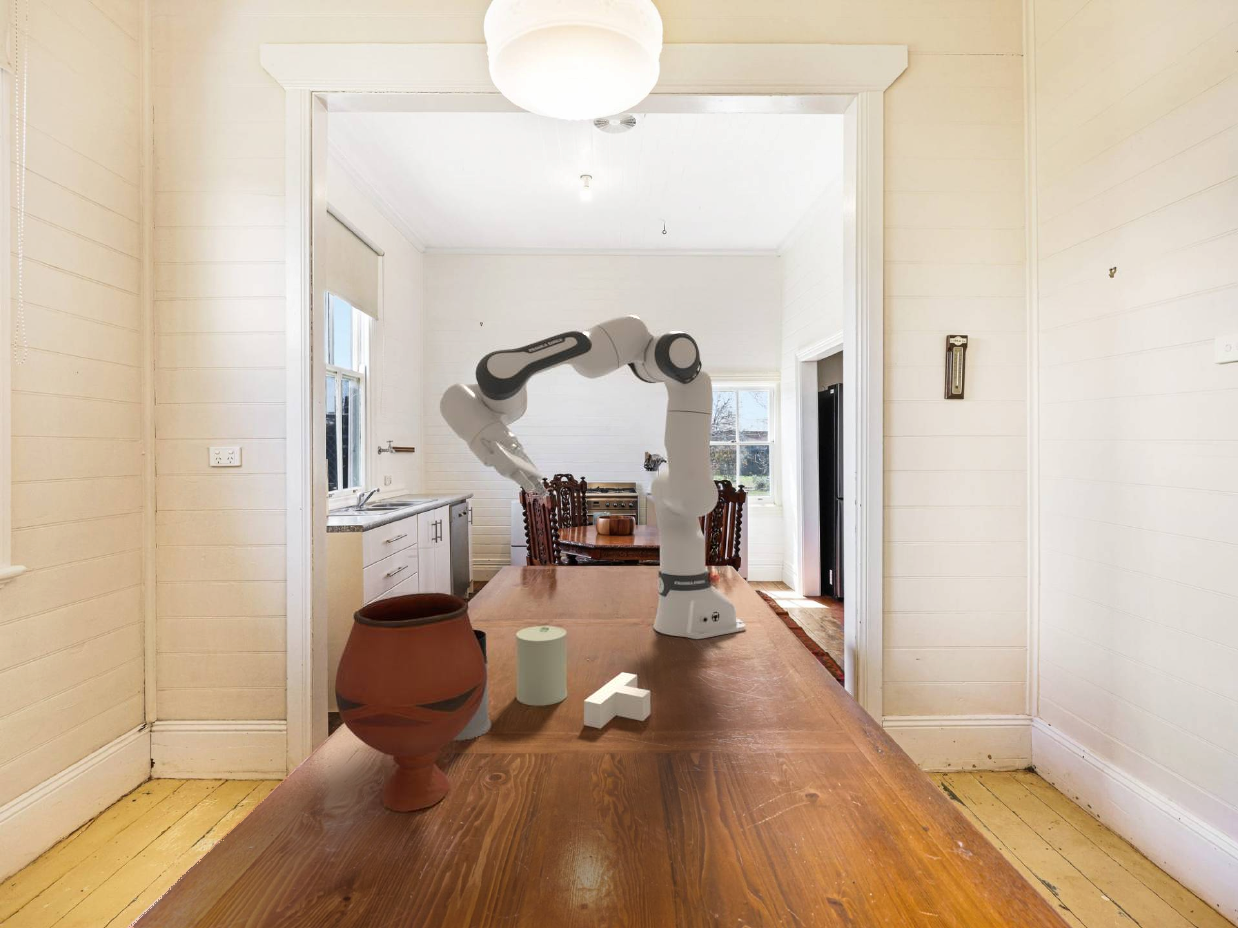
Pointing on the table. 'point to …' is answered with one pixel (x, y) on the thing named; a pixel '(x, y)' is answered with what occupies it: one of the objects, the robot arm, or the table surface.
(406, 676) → the goblet
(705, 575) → the robot arm
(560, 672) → the can
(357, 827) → the table surface
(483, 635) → the glass holder
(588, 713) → the T stop
